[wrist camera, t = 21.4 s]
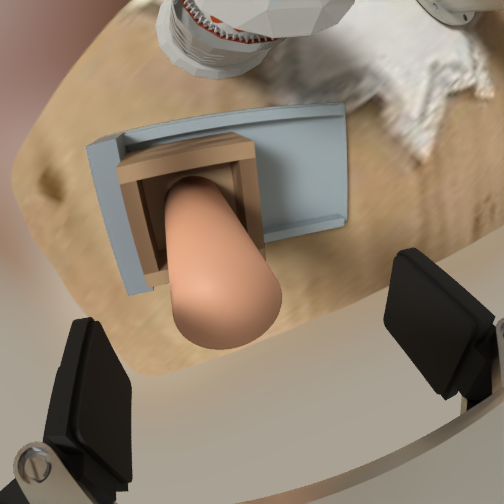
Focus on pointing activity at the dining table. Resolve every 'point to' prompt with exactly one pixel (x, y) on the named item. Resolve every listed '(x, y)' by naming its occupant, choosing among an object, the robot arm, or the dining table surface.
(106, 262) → the dining table surface
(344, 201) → the rail
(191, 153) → the square wooden box
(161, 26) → the french press
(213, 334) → the dowel
